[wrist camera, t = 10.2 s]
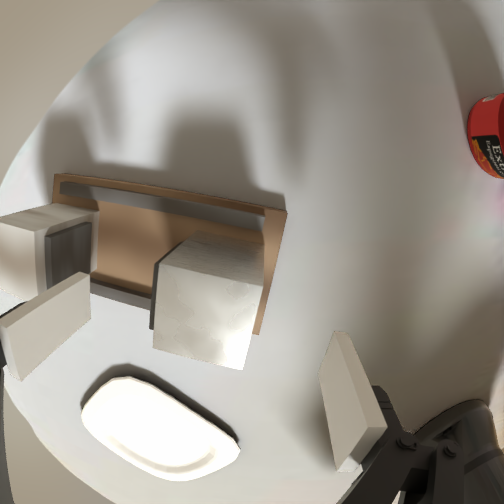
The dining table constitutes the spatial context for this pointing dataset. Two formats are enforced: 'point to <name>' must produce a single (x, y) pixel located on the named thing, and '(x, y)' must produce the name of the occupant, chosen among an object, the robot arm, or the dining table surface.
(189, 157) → the dining table surface
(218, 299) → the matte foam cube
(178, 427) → the plate
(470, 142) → the canned food
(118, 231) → the rail board
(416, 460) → the robot arm
